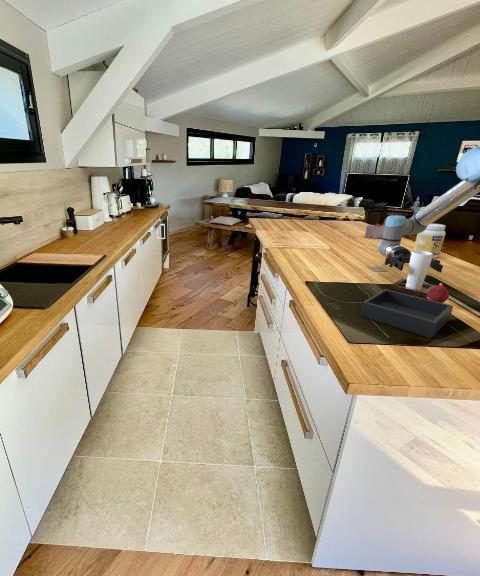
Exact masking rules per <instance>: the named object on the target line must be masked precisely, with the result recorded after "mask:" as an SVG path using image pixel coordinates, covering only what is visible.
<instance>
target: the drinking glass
mask: <svg viewBox="0 0 480 576" xmlns="http://www.w3.org/2000/svg"><path fill="white" fill-rule="evenodd" d="M432 255H433V254H432V253H430V252H426V251H413V250H412V251H411V257H410V262H409V263H408V268H407V269H408V271H407V276H406V279H407V282H406V283H405V287H407V288H411V289H415V290H420V291H422V288H423V287H422V285H423V283H425V279H426V277H427V274H428V271H429V269H430V267H431V266H430V264H431V260H432V259H433V258H432Z"/></svg>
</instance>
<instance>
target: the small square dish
mask: <svg viewBox="0 0 480 576" xmlns="http://www.w3.org/2000/svg"><path fill="white" fill-rule="evenodd" d="M406 282H407V278H402V277H401V278H400V279H398V280H397V281H395V282H394V283H392V284H390V286H389V287H390V290H394V291H398V292H399V291H400V292H402V293H406V294H407V293H408V294H411V295H414V296H418V297H423V298H427V297H428V292H429V290H430V289H431V288H433V287H435V286H437V285H435V284H430V283H426V282H423V285H422V288H424V289H425V290H424V291H423V290H415V289H411V288H407V287H406V286H403V284H406Z"/></svg>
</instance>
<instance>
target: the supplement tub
mask: <svg viewBox="0 0 480 576" xmlns="http://www.w3.org/2000/svg"><path fill="white" fill-rule="evenodd" d="M445 229H446V225H445V224H440V223H431V224H430V225H428V226H427V228H426V229H425V231H423V232H421V233H418V234H416V238H415V242H414V246H413V250H412V251H426V252H430V253H432V254H433V255H432V259H437V258H438V257H440V255H441V252H442V248H443V244H444V240H445V236H446V231H445Z"/></svg>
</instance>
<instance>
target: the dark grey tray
mask: <svg viewBox="0 0 480 576" xmlns="http://www.w3.org/2000/svg"><path fill="white" fill-rule="evenodd" d="M453 308H454V305H452V304H448V303H445V302H443V303H440V302H436V301H432V300H430V299H429V298H428V299H427V298H425V297H421V296H417V295H412V294H411V295H410V294H407V293H404V292H399V291H396V290H392V289H386V288H384V289H383V290H380V291H379V292H377V293H376V294H374V295H372V296H370V297H368V298H367V299H365V300H363V301H362V303H361V307H360V314H359V316H360V317H362V318H367V319H370V320H373V321H376V322H379V323H380V324H381V323H382V324H385V325H387V326H391V327H394V328H397V329H399V330H400V329H401V330H404V331H407V332H410V333H413V334H416V335H420V336H422V337H426V338H429V339H432V338H433V337H435V335H436V334H438V333H439V332H440V331H441V329H442V328H443V327H444V326H445V325H446V324H447V323H448V322H449V321H450V318H451V315H452V311H453Z"/></svg>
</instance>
